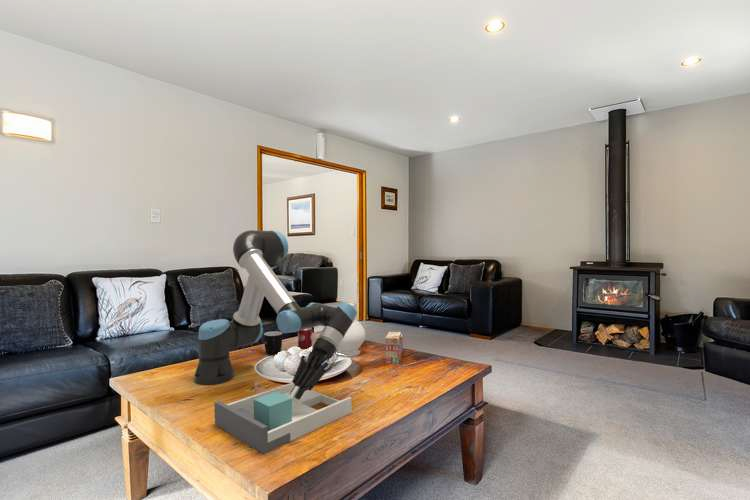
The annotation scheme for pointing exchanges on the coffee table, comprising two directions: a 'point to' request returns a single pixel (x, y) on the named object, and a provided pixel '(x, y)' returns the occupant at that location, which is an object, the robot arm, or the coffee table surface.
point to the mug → (273, 342)
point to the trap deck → (304, 420)
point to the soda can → (305, 338)
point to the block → (273, 410)
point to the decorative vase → (352, 339)
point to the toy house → (393, 347)
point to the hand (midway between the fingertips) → (288, 407)
